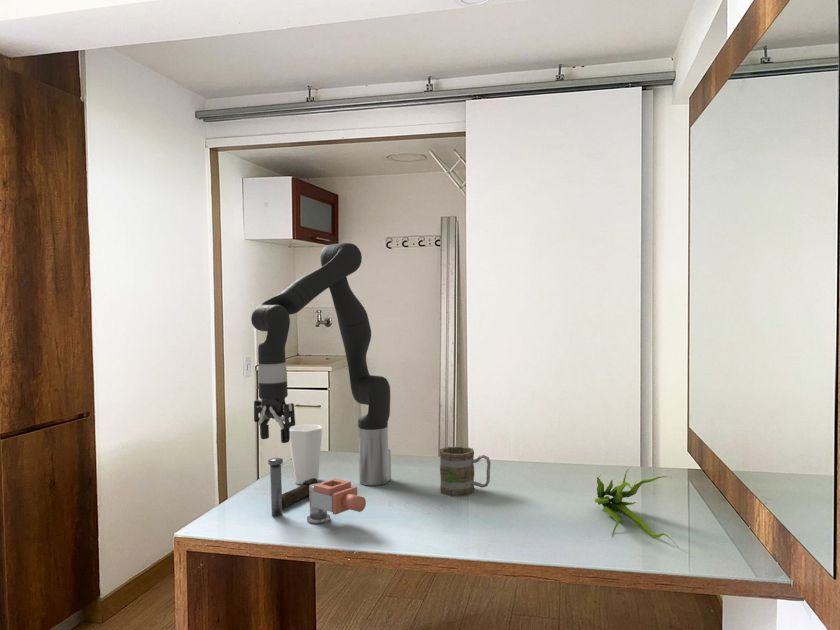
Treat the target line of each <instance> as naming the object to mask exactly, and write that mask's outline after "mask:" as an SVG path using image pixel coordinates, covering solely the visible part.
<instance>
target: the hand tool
mask: <svg viewBox="0 0 840 630" xmlns="http://www.w3.org/2000/svg"><path fill="white" fill-rule="evenodd" d="M316 483H319V480H318V481H317V479H316V478H312V479H309V480H306V481H304V482H303V484H301V485H300V486H298V487H296V488H293V489H291V490H289V491H285V492H283V493H282V510H283V509H286V507H288V506H289V505H291V504H293V503H295V502H297V501H299V500H302V499H304V498H305V497H306V498H307V497H308V498H310V497H309V486H310V485H312V484H316Z"/></svg>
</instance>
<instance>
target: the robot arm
mask: <svg viewBox="0 0 840 630" xmlns="http://www.w3.org/2000/svg"><path fill="white" fill-rule="evenodd" d="M362 259H363V258H362V252H361V250H360V248H359V247H358V246H357V245H356V244H354V243H350V242H342V243H340V242H339V243H332V244H328V245H325V246H324V247H323V248H322V250H321V253H320V264H321V265H320V266H321V267H319V268H317V269H316V270H313V271H311V272H310V273H308V274H306V275H303V276H301V277H300V278H299V279H297V280H295V281H293V282H292V283H291V284H290V285H289V286H287V287H286V288H285V289H284V290H283V291H281V292H280V293H279V294H276V295H274V296H272V297H270V298H269V299H267V300H265V301H264V302H262V303H260V304H259V305H258V306H256V308H255V309H254V310H253V311H252V314H251V318H250V319H251V320H250V321H251V325H252V326H253V327H254V329H256V330H258V331H260V332H267V333H266V336H265V337H266V338H265V340H263V341H260V343H259V344H258V346H257V353H258V354H257V355H258V356H257V358H258V360H257V361H258V366H257V367H258V368H257V381H258V382H257V383H258V385H257V386H258V398H259V399H256V400H254V402H253V421H254V422H255V423H257V424H258V425H259V431H260V432H259V433H260V434H259V436H260V439H261V440H267V439H269V438H270V431H269V430H270V428H269V427H270V426H269V422H270V420H271V419H273V420H275V422H276V423H278V425H279V427H280V443H282V444H287V443H290V427H292V426H296V414H295V405H294V403H293V402H291V403H286V398H287V397H288V395H289V393H288V392H289V391H288V372H287V371H288V370H287V364H286V360H287V359H286V344H287V340H288V336H289V331H290V325H291V318H290V315H295V314H297V313H299V312H300V311H301V310H302V309H303V308H306V306H307V305H308V304H310V303H311V302H312V301H313V300H314V299H316V298H317V297H318V296H319V295H320V294H322V293H323V292H325V291H326V290H327V289H329V292H330V294H331V299H332V303H333V306H334V310H335V313H336V318H337V323H338V327H339V331H340V336H341V340H342V344H343V347H344V348H343V349H344V353H345V357H346V361H347V368H348V376H349V384H350V390H351V394H352V397H353V399H354V400H355V401H356V403H358V404H361V405H366V406H367V405H368V410H367V414H365V415H363V416H361V417H359V418H358V421H357V428H358V429H357V430H358V431H357V432H358V433H357V434H358V467H359V468H358V471H359V472H358V473H359V474H358V475H359V477H358V479H359V483H360V484H361V485H364V486H381V485H385V484H388V483H389V482H390V481H391V480H392V461H391V460H392V457H391V453H392V452H391V449H389V430H388V429H389V428H388V427H389V423H388V422H389V420H390V415H391V385H390V383H389V381H388V379H387V378H386V377H384V376H381V375H371V374H370V372H369V370H368V364H367V353H368V350H369V347H370V343H371V339H372V328H371V324H370V319H369V315H368V313H367V310H366V309H365V307H364V306H363V304H362V303H361V301H360V300H359V299H358V297H356V294H354V292H353V290H352V289H351V287H350V286H351V285H349V281H348V276H350V275H352V274H353V273H355V272H356V271H358V269H359V268H360V267H361V264H362Z"/></svg>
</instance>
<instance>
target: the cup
mask: <svg viewBox="0 0 840 630" xmlns="http://www.w3.org/2000/svg"><path fill="white" fill-rule="evenodd" d="M322 434H323V427H322V426H321V425H320V424H309V423H308V424H304V423H303V424H298V425H295V426H292V427H290V440H289V445H290V452H291V453H290V454H291V459H292V466H293V473H294V481H295V484H296V485H303V482H304V481H306V480H309V479H312V478H316V479H317V481H318V482H319V475H320V473H319V472H320V461H321V460H320V459H321V450H322V449H321V447H322Z"/></svg>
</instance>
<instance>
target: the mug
mask: <svg viewBox="0 0 840 630" xmlns="http://www.w3.org/2000/svg"><path fill="white" fill-rule="evenodd" d="M439 456H440V457H439V458H440V459H439V460H440V461H439V465H440V466H439V473H440V474H439V475H440V487H439V491H440V492H439V493H440V494H442V495H445V496H449V497H466V496H469V495H472V494H475V493H476V492H475V491H476V490H475V486H476V487H479V488H481V489H482V488H485V487H486V488H487V487H488V486H489V484H490V480H491V479H490V478H491V460H490V457H489V456H487V455H485V454H483V455H479V456H478V457H477V458H476V459H474V457H475V450H474V448H471V447H468V446H462V445H461V446H447V447H444V448H443V447H442V448H440V449H439ZM481 459H484V460H486V464H487V467H486V481H485V483H481V482H478V481H475V479H474V478H475V466H474V465H475V464H477V463H479V462H480V461H481Z"/></svg>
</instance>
